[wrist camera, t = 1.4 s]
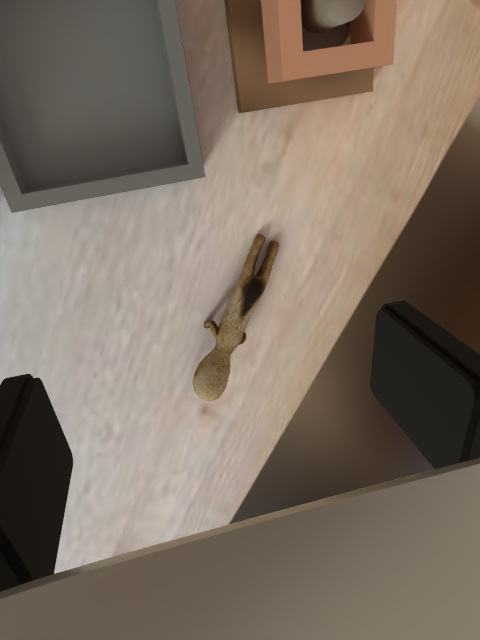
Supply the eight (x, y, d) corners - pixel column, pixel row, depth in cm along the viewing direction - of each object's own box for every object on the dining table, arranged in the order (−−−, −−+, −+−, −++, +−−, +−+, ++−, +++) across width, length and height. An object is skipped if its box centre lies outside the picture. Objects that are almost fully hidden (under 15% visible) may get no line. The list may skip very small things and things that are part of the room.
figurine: (240, 228, 35) (179, 381, 37) (260, 231, 31) (190, 403, 33) (275, 244, 37) (214, 390, 39) (298, 249, 33) (229, 412, 34)
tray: (-75, -33, 22) (-99, -49, 20) (159, -57, 24) (162, -74, 21) (21, 204, 28) (11, 212, 26) (200, 171, 30) (205, 176, 28)
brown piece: (215, -74, 24) (243, -134, 18) (369, -90, 25) (442, -150, 19) (238, 112, 29) (265, 114, 23) (366, 91, 30) (423, 88, 24)
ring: (255, -61, 22) (271, -83, 20) (371, -73, 23) (400, -96, 21) (268, 83, 26) (283, 81, 23) (368, 68, 27) (392, 64, 24)
